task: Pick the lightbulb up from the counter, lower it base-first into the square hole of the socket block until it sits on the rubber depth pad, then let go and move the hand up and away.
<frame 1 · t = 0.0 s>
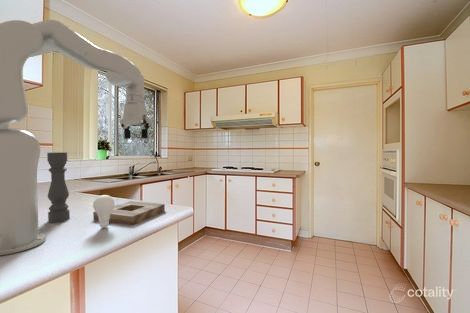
hand: (135, 138, 102), 31 cm above the countertop, tool pointing down, fingers open, 9 cm apart
lightbulb: (104, 228, 73), on the countertop
socket block: (131, 215, 87), on the countertop
candle holder: (59, 220, 82), on the countertop
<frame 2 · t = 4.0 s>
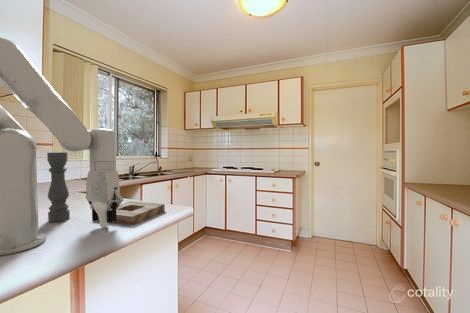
hand: (104, 220, 73), 3 cm above the countertop, tool pointing down, fingers closed on lightbulb, 5 cm apart
lightbulb: (104, 228, 73), on the countertop, touching gripper
everything else where it was.
when the fingers open (4 cm above the countertop, at t = 9.4 s): lightbulb drops 1 cm, resting on socket block.
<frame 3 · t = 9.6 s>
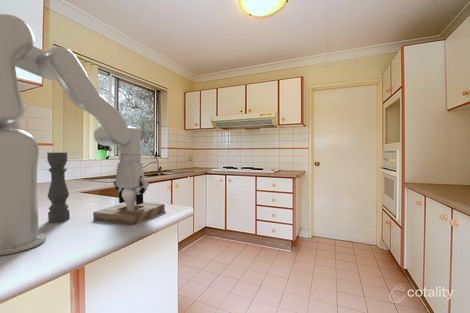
hand: (131, 203, 87), 5 cm above the countertop, tool pointing down, fingers open, 7 cm apart
lightbulb: (130, 214, 87), resting on socket block
everything else where it was.
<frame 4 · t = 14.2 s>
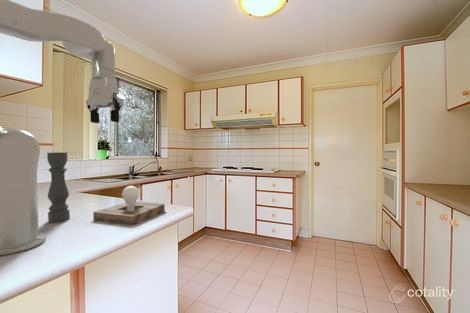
hand: (104, 122, 82), 36 cm above the countertop, tool pointing down, fingers open, 9 cm apart
nothing on the countertop moved.
at the end: lightbulb 0.2 cm off-centre on the socket block, point 0.4 cm above the socket block's base; lightbulb tilted 2°; the gripper is holding nothing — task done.
